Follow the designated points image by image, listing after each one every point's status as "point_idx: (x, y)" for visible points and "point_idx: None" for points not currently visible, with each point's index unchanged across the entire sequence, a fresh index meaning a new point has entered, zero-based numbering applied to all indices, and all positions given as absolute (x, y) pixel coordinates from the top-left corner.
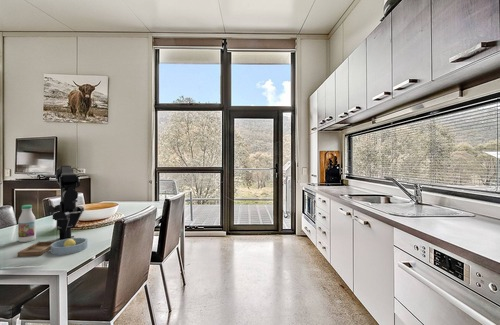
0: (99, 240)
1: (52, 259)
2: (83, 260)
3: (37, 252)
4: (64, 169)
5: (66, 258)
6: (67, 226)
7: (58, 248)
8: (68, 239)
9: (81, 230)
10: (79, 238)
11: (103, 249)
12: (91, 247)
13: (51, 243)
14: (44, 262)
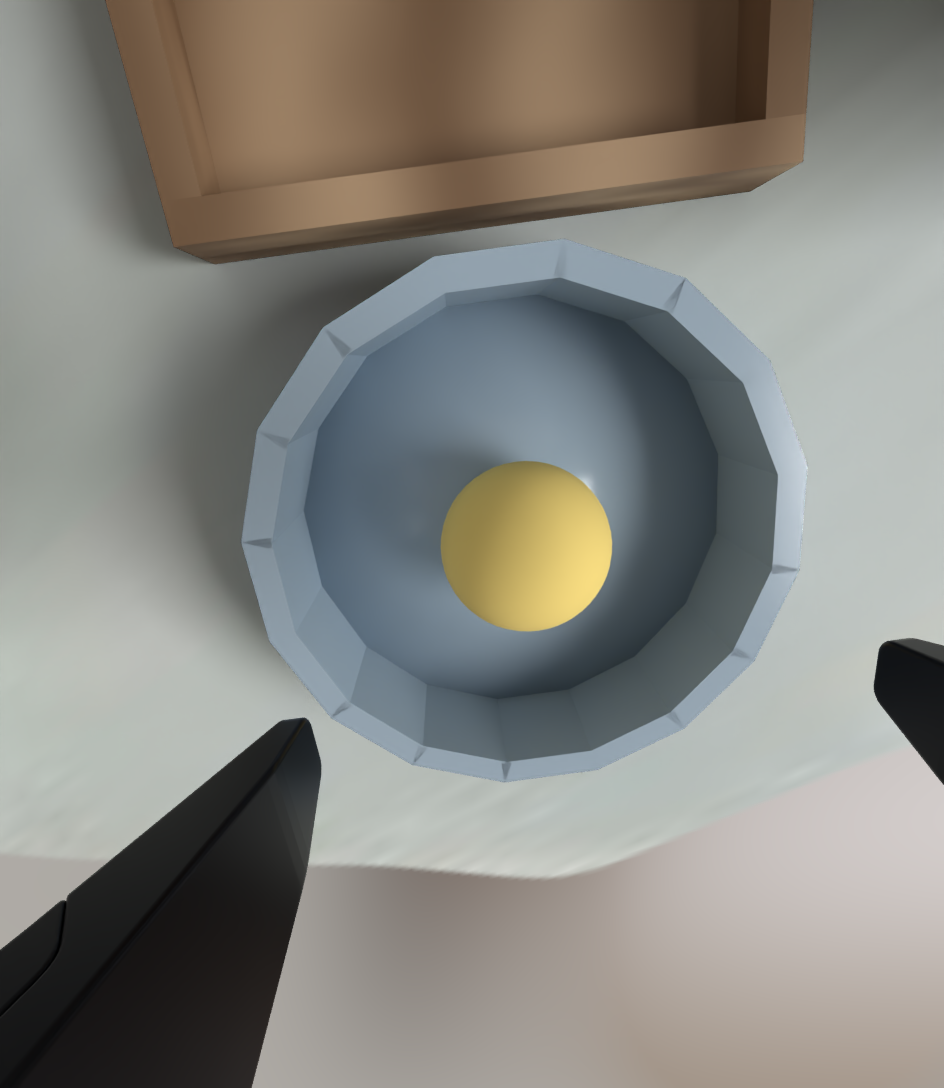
0: None
1: (156, 520)
2: None
3: (163, 189)
4: None
5: (218, 664)
6: (273, 976)
7: (249, 546)
8: (535, 557)
9: None
10: (767, 570)
11: (528, 867)
12: None
13: (751, 18)
14: (42, 490)
